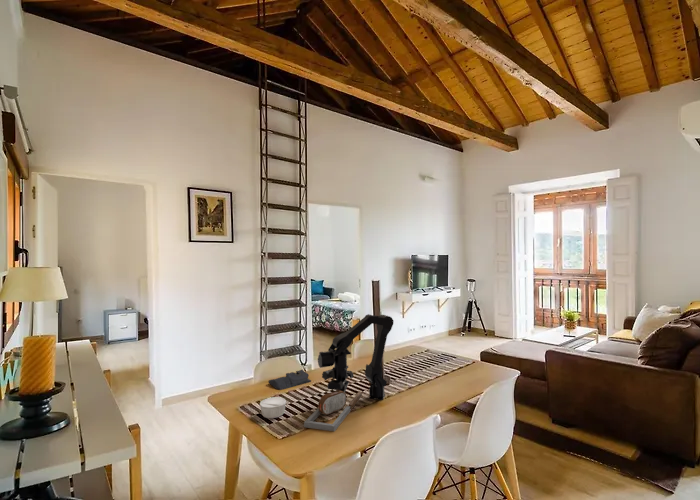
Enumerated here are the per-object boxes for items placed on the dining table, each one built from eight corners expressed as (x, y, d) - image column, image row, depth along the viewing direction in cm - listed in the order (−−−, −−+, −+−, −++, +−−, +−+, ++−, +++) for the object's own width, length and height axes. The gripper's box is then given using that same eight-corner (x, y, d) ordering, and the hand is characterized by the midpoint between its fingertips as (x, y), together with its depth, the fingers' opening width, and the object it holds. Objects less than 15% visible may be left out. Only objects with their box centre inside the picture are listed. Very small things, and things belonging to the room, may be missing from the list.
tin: (343, 405, 171) (342, 387, 171) (348, 407, 169) (347, 388, 169) (317, 416, 161) (317, 396, 161) (322, 418, 158) (322, 398, 158)
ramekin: (260, 421, 157) (260, 408, 157) (259, 410, 167) (259, 398, 168) (287, 417, 160) (287, 405, 160) (284, 407, 171) (284, 395, 171)
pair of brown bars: (361, 396, 182) (361, 392, 182) (351, 409, 167) (351, 404, 167) (336, 393, 186) (336, 389, 186) (324, 406, 171) (324, 401, 171)
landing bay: (350, 411, 165) (350, 406, 165) (334, 431, 146) (334, 426, 146) (323, 407, 169) (322, 403, 169) (304, 427, 150) (304, 422, 151)
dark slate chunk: (264, 384, 203) (264, 375, 203) (298, 375, 217) (298, 367, 217) (279, 392, 191) (278, 382, 191) (314, 381, 205) (314, 373, 205)
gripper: (331, 357, 185) (332, 389, 185) (316, 369, 167) (317, 404, 167) (353, 359, 181) (353, 391, 181) (339, 371, 164) (340, 407, 163)
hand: (341, 398), depth 173 cm, fingers closed
